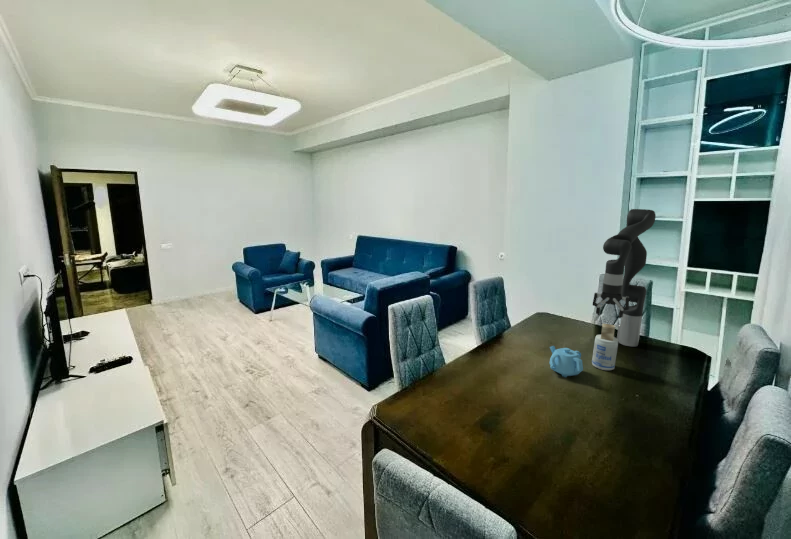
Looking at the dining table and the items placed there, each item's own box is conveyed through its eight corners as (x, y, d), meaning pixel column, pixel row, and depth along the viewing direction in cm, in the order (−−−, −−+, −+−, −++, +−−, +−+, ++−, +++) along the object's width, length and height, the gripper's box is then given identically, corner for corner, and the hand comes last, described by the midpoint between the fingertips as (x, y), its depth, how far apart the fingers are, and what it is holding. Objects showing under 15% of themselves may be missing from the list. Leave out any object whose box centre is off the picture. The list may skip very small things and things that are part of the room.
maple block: (600, 338, 163) (602, 326, 162) (601, 335, 167) (602, 323, 166) (613, 340, 161) (614, 328, 159) (613, 337, 165) (614, 325, 163)
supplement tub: (593, 369, 164) (596, 340, 161) (590, 360, 173) (593, 333, 170) (617, 372, 161) (620, 343, 158) (612, 363, 169) (615, 335, 166)
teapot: (595, 379, 155) (598, 354, 153) (565, 385, 151) (567, 360, 148) (562, 359, 174) (564, 337, 172) (534, 364, 170) (536, 341, 167)
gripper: (594, 282, 159) (591, 316, 162) (631, 286, 151) (627, 321, 155) (595, 279, 165) (591, 311, 168) (631, 282, 158) (626, 316, 161)
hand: (608, 316), depth 162 cm, fingers open, 8 cm apart
